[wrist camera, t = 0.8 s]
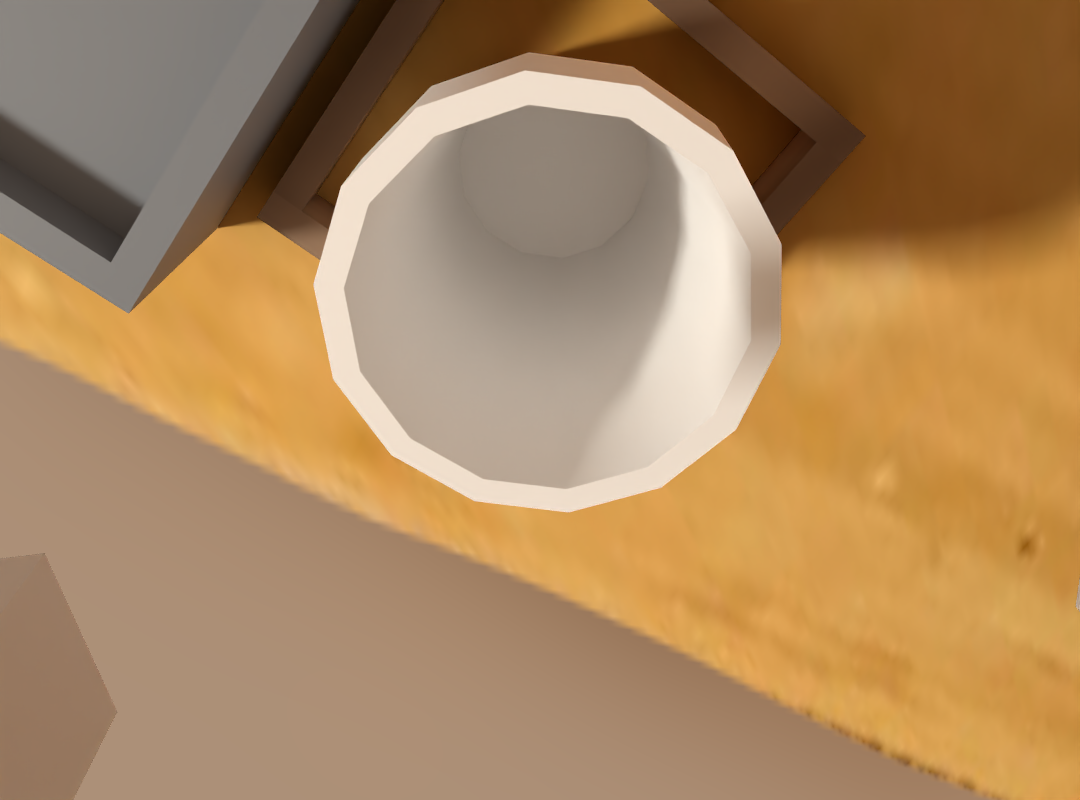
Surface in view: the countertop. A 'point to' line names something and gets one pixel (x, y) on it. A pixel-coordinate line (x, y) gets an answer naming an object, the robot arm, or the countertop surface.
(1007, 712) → the countertop surface
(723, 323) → the foam cup
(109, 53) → the charcoal stand
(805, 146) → the walnut collar
